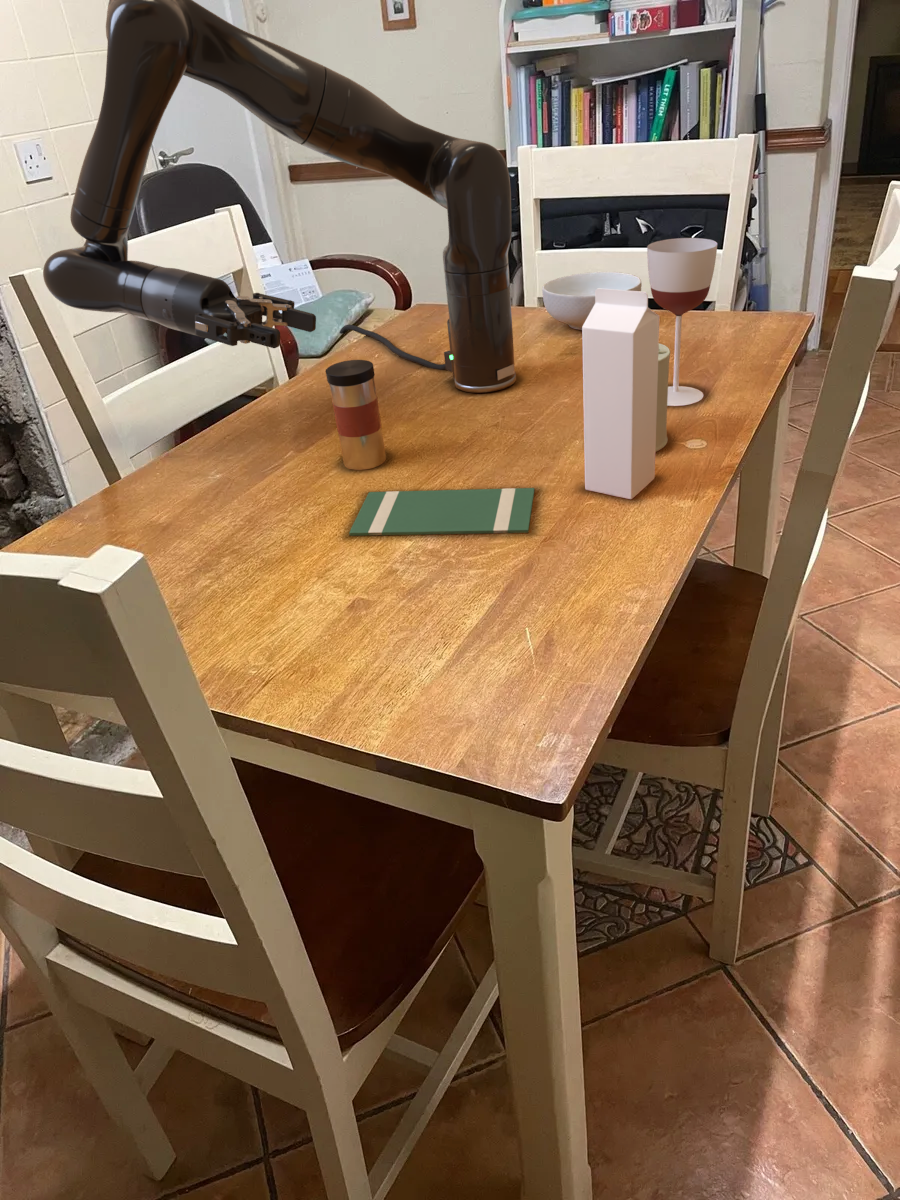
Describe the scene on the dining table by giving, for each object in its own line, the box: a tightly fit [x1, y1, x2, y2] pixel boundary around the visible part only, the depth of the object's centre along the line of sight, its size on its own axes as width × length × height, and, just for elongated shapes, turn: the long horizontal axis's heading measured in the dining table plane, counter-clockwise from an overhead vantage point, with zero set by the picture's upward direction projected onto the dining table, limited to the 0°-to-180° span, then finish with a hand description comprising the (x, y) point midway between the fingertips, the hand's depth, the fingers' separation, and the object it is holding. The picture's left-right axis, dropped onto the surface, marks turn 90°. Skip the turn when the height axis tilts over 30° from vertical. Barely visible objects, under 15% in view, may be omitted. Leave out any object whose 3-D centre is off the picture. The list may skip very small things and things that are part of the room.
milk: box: [581, 288, 660, 500], centre depth 95 cm, size 6×6×22 cm
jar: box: [325, 359, 387, 471], centre depth 111 cm, size 6×6×12 cm
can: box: [655, 342, 671, 453], centre depth 107 cm, size 9×9×12 cm
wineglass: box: [646, 237, 718, 407], centre depth 116 cm, size 8×9×20 cm
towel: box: [348, 487, 536, 537], centre depth 99 cm, size 10×20×1 cm, turn 81°
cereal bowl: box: [541, 271, 642, 331], centre depth 152 cm, size 17×17×7 cm
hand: (297, 331), depth 108 cm, fingers open, 8 cm apart
